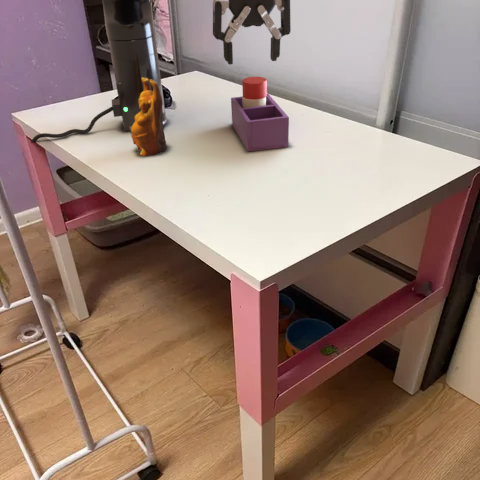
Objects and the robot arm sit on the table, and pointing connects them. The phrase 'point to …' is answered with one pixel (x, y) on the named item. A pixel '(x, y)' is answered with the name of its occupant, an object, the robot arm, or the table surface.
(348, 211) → the table surface
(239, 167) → the table surface
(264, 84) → the cylinder
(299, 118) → the table surface
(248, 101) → the cream token high
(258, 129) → the purple divided box
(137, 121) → the figurine
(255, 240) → the table surface
